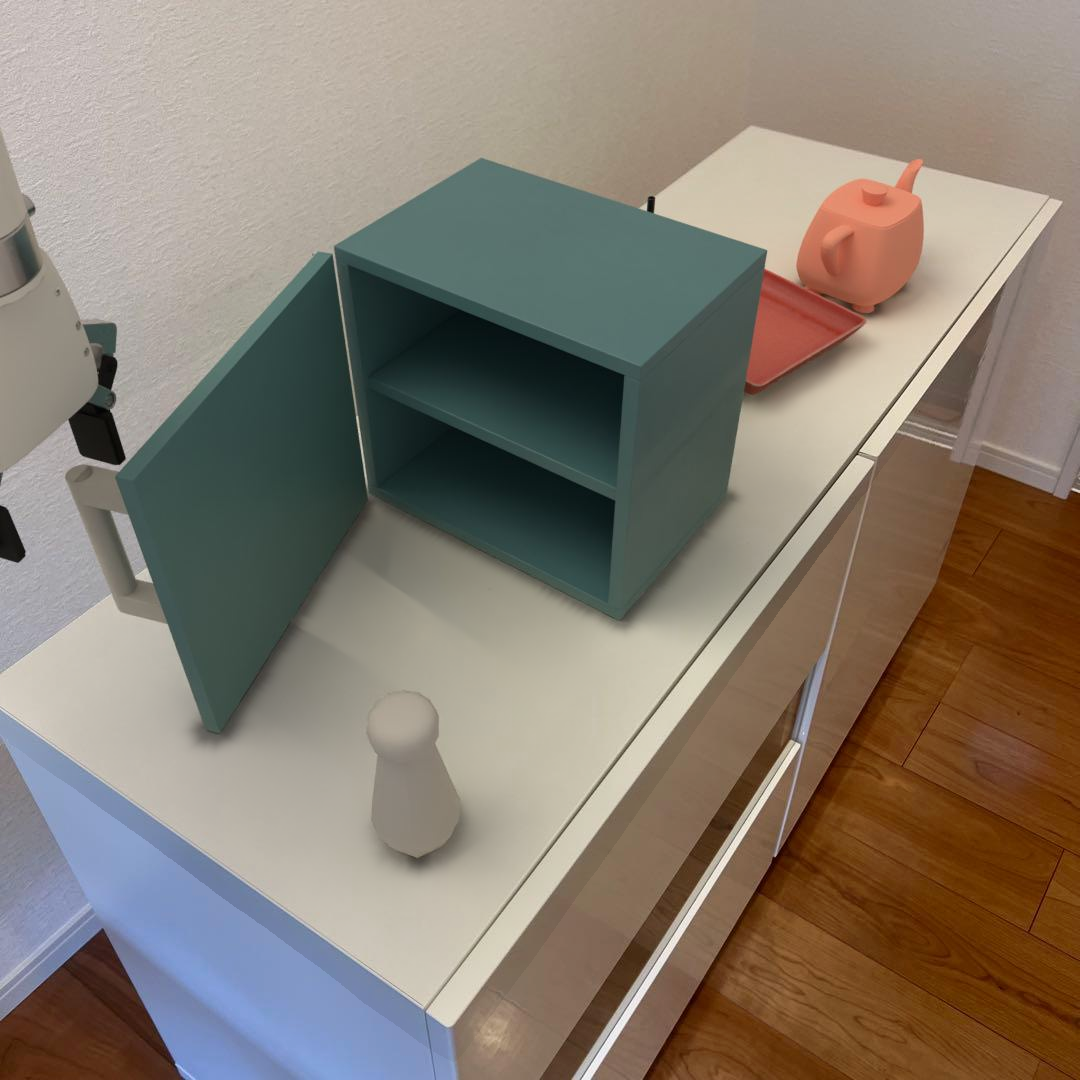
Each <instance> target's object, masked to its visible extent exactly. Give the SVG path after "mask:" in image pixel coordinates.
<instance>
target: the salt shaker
mask: <svg viewBox="0 0 1080 1080" xmlns="http://www.w3.org/2000/svg"><path fill="white" fill-rule="evenodd" d="M366 719H367V721H366V736H367V740H368V742H369V744H370V746H371V748H372V750H373V752H374V753H375V754H376V763H375V764H376V765H375V775H374V784H373V792H372V802H371V817H370V821H371V823H372V825H373V828H374V829H375V831H376V833H377V836H378V837H379V840H380V841H381V842H383V843H384V844H385V845H387V846H388V847H390V848H391V849H393V850H395V851H396V852H400V853H402V854H403V853H404V854H406V855H408V856H410V857H412V858H416V859H418V858H421V857H423V856H425V855H428V854H429V853H432V852H433V851H436V850H438V849H440V848H442V847H444V845H445V844H446V843H447V842H448V841H449V839H450V838H451V837H452V834H453V832H454V830H455V828H456V827H457V825H458V823H459V820H460V812H461V811H460V807H461V805H460V804H461V798H460V796H459V794H458V791H457V789H456V788H455V787H456V786H455V785H454V783H453V781H452V778H451V776H450V774H449V771H448V769H447V767H446V765H445V763H444V760H443V758H442V756H441V753H440V751H439V749H438V747H437V745H436V742H437V740H438V739H439V737H440V736H439V734H440V716H439V713H438V711H437V709H436V707H435V706H434V703H433V702H432V701H431V699H429V698H428V697H426V696H425V695H423V694H422V693H420V692H417V691H411V690H404V689H403V690H399V691H393V692H389V693H387V694H385V695H384V696H382V697H380V698H379V699H377V700H376V701H374V703H373V705H372V706H371V708H370V709H369V711H368V712H367V718H366Z"/></svg>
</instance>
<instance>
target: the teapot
mask: <svg viewBox="0 0 1080 1080" xmlns="http://www.w3.org/2000/svg"><path fill="white" fill-rule="evenodd" d="M923 164H924V160H923V159H921V158H917V159H914V160H912V161H910V162H909V163H908V164H907V166H906V167H905V169H903V171H902V174H901V175H900V177H899V179H898V180H897V181H896V184H895V185H894V186H892V185H890V184H886V183H882V182H880V181H876V180H872V179H868V178H857V179H853V180H851V181H848V182H846V183H845V184H843V185H841V186H839V187H837V188H836V189H835V190H834V191H832V192H831V193H830V194H829V195H827V197H826V198H825V199H824V200H823V201H822V203H821V205H820V206H819V208H818V210H817V211H816V213H815V214H814V217H813V218H812V220H811V222H810V224H809V225H808V227H807V230H806V231H805V234H804V236H803V238H802V241H801V243H800V247H799V250H798V253H797V258H796V265H795V266H796V272H797V275H798V278H799V280H800V282H801V283H802V284H803V285H805V286H804V288H806V289H807V290H810V291H812V292H813V293H816V294H818V295H824V294H825V295H828V296H830V297H833V298H835V299H838V300H841V301H844V302H846V303H849V304H851V307H852V309H853V310H854V311H856V312H859V313H861V314H870V313H872V312H874V310H875V305H877V304H880V303H882V302H883V301H885V300H887V299H888V298H890V297H892V296H893V295H895V294H896V293H898V292H899V291H900V290H901V289H902V288H903V287H904V286H905V284H906V283H907V282H908V281H909V280H910V279H911V278H912V276H913V275H914V273H915V271H916V270H917V268H918V265H919V263H920V260H921V257H922V253H923V252H922V251H923V246H924V236H925V235H924V234H925V222H924V208H923V201H922V198H921V197H920V196H919V195H917V194H915V193H913V190H914V185H915V182H916V178H917V175H918V173H919V172H920V170H921V168H922V167H923Z"/></svg>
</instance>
